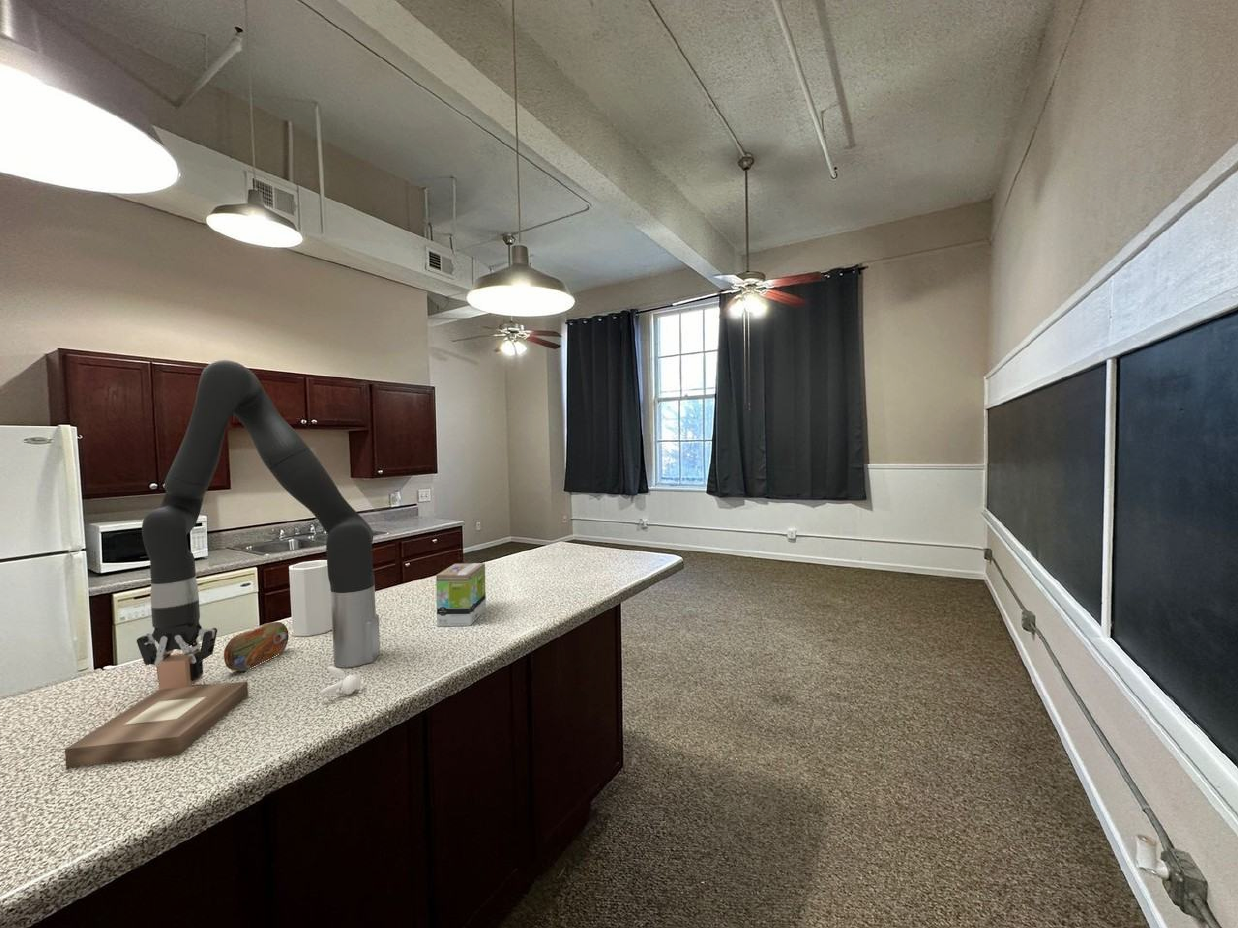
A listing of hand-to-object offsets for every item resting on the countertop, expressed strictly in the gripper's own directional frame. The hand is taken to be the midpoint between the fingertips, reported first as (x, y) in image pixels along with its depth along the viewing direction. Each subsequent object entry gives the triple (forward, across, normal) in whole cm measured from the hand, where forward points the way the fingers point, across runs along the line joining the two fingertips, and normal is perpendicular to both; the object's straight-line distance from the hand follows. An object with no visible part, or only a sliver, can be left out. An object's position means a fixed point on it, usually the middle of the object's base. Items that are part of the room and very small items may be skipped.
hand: (180, 680), depth 105 cm
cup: (+2, -13, -33) cm, 35 cm away
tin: (+2, -9, -12) cm, 15 cm away
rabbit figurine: (+3, -35, +10) cm, 36 cm away
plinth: (+2, -8, +16) cm, 18 cm away
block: (+1, 0, 0) cm, 1 cm away
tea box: (+3, -53, -33) cm, 62 cm away
